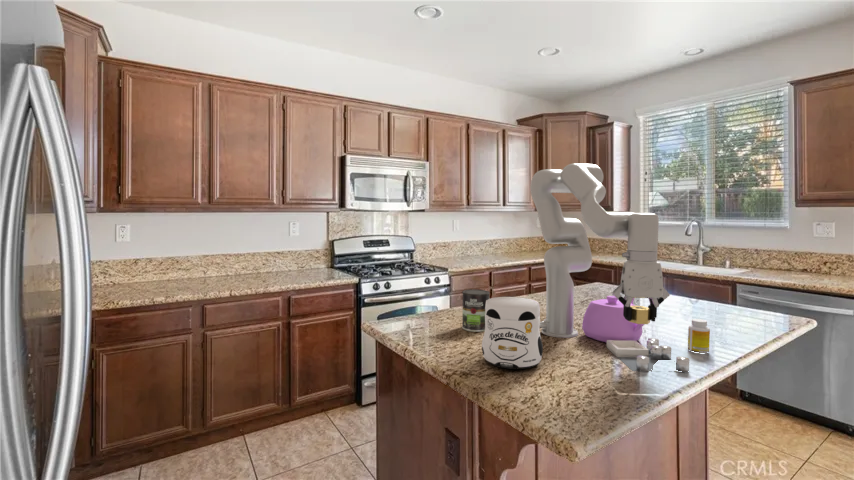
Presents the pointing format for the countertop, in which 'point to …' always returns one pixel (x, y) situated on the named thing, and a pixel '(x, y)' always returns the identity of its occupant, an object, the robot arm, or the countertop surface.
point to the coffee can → (474, 309)
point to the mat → (632, 362)
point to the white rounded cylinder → (512, 333)
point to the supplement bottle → (698, 336)
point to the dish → (627, 348)
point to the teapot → (609, 321)
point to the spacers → (660, 357)
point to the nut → (640, 315)
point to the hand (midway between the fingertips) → (639, 319)
